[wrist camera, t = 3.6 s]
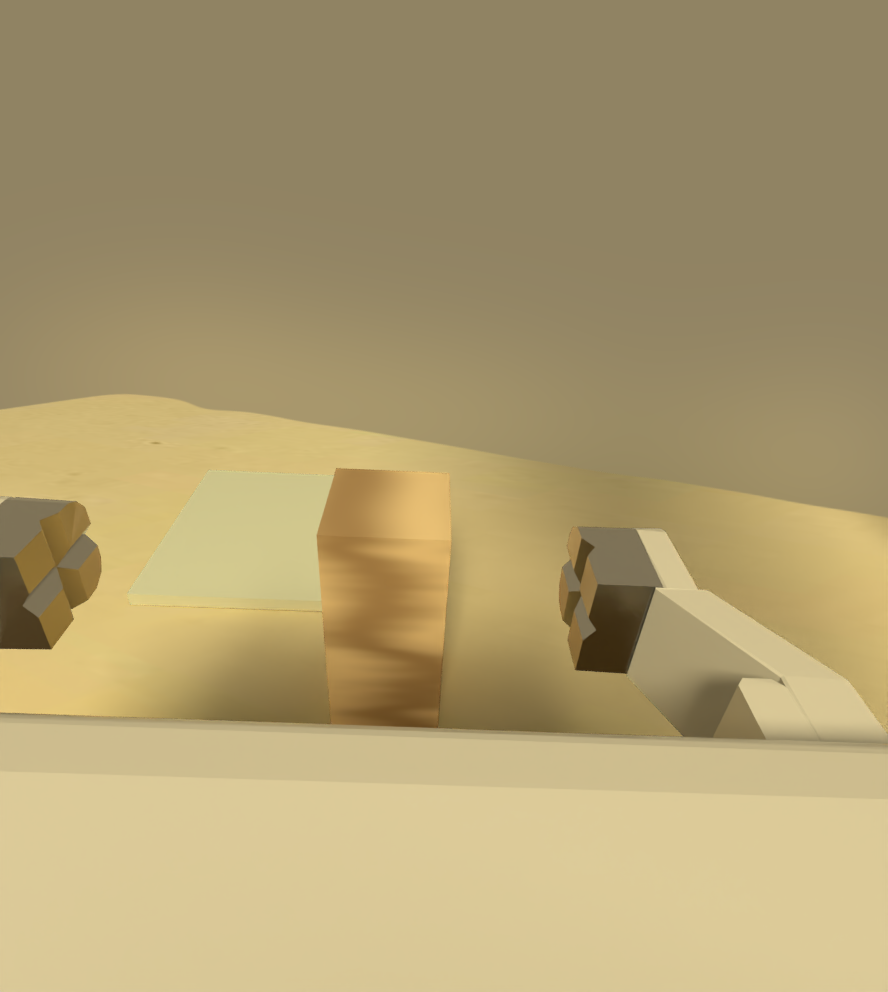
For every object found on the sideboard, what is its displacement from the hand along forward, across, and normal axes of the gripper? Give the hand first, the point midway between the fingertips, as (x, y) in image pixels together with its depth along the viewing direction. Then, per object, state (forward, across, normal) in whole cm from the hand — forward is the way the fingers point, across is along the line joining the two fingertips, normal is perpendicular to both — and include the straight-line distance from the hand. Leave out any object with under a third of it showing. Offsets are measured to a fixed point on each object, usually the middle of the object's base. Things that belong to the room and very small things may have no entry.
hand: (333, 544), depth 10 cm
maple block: (+12, 0, +18) cm, 22 cm away
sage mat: (+24, +8, +18) cm, 31 cm away
